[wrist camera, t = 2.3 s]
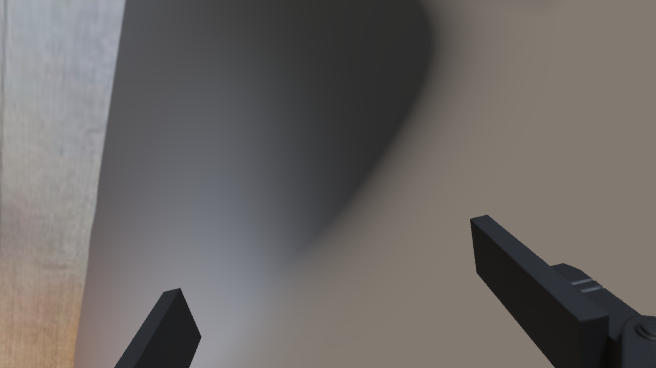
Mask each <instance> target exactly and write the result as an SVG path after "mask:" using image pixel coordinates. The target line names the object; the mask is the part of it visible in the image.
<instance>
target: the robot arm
mask: <svg viewBox="0 0 656 368" xmlns="http://www.w3.org/2000/svg"><path fill="white" fill-rule="evenodd" d="M470 222H471V231H472V239H473V247H474V255H475V263H476V272H477V274H478V275H479V276H480V277H481V278H482V280H483V281H484V282H485V283H486V284H487V286H488V287H489V288H490V289H491V291H492V292H493V293H494V294H495V295H496V297H497V298H498V299H499V300H500V301H501V303H502V304H503V305H504V306H505V308H506V309H507V310H508V311H509V312H510V314H511V315H512V316H513V317H514V319H515V320H516V321H517V322H518V323H519V324H520V326H521V327H522V328H523V329H524V330H525V332H526V333H527V334H528V336H529V337H530V338H531V339H532V340H533V342H534V343H535V344H536V345H537V346H538V348H539V349H540V350H541V351H542V353H543V354H544V355H545V356H546V357H547V359H548V360H549V361H550V362H551V364H552V365H553V366H554V367H555V368H656V317H655V316H645V315H640V314H639V313H638V312H636V311H635V310H634V309H632V308H631V307H630V306H628V305H627V304H625V303H624V302H623V301H622V300H620V299H619V298H618V297H616V296H615V295H613V294H612V293H611V292H609V291H608V290H607V289H605V288H603V287H602V286H601V285H600V284H599V283H597V282H596V281H593V280H592V278H591V277H589V276H588V275H586V274H585V273H584V272H582V271H581V270H580V269H577V268H575V267H572V266H569V265H567V264H564V263H562V264H558V265H554V266H549V265H548V264H547V263H546V262H544V261H543V260H542V259H541V258H539V257H538V256H537V255H536V254H534V253H533V252H532V251H531V250H530V249H528V248H527V247H526V246H525V245H523V244H522V243H521V242H520V241H518V240H517V239H516V238H515V237H514V236H513V235H511V234H510V233H509V232H507V231H506V230H505V229H504V228H503V227H502V226H500V225H499V224H498V223H497V222H495V221H494V220H493V219H492V218H491V217H489V216H488V215H484V216H481V217H476V218H472V219H470ZM200 339H201V335H200V332H199V330H198V328H197V326H196V323H195V321H194V319H193V316H192V314H191V312H190V310H189V307H188V305H187V302H186V300H185V298H184V296H183V293H182V291H181V289H180V288H179V289H174V290H170V291H166V292H163V294H162V295H161V297H160V299H159V300H158V302H157V303H156V305H155V306H154V308H153V309H152V311H151V312H150V314H149V315H148V317H147V318H146V320H145V321H144V323H143V324H142V326H141V328H140V329H139V331H138V332H137V334H136V335H135V337H134V338H133V340H132V341H131V343H130V344H129V346H128V347H127V349H126V350H125V352H124V353H123V355H122V357H121V358H120V360H119V361H118V363H117V364H116V366H115V367H114V368H189V367H190V364H191V362H192V359H193V357H194V354H195V352H196V349H197V347H198V344H199V342H200Z"/></svg>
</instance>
